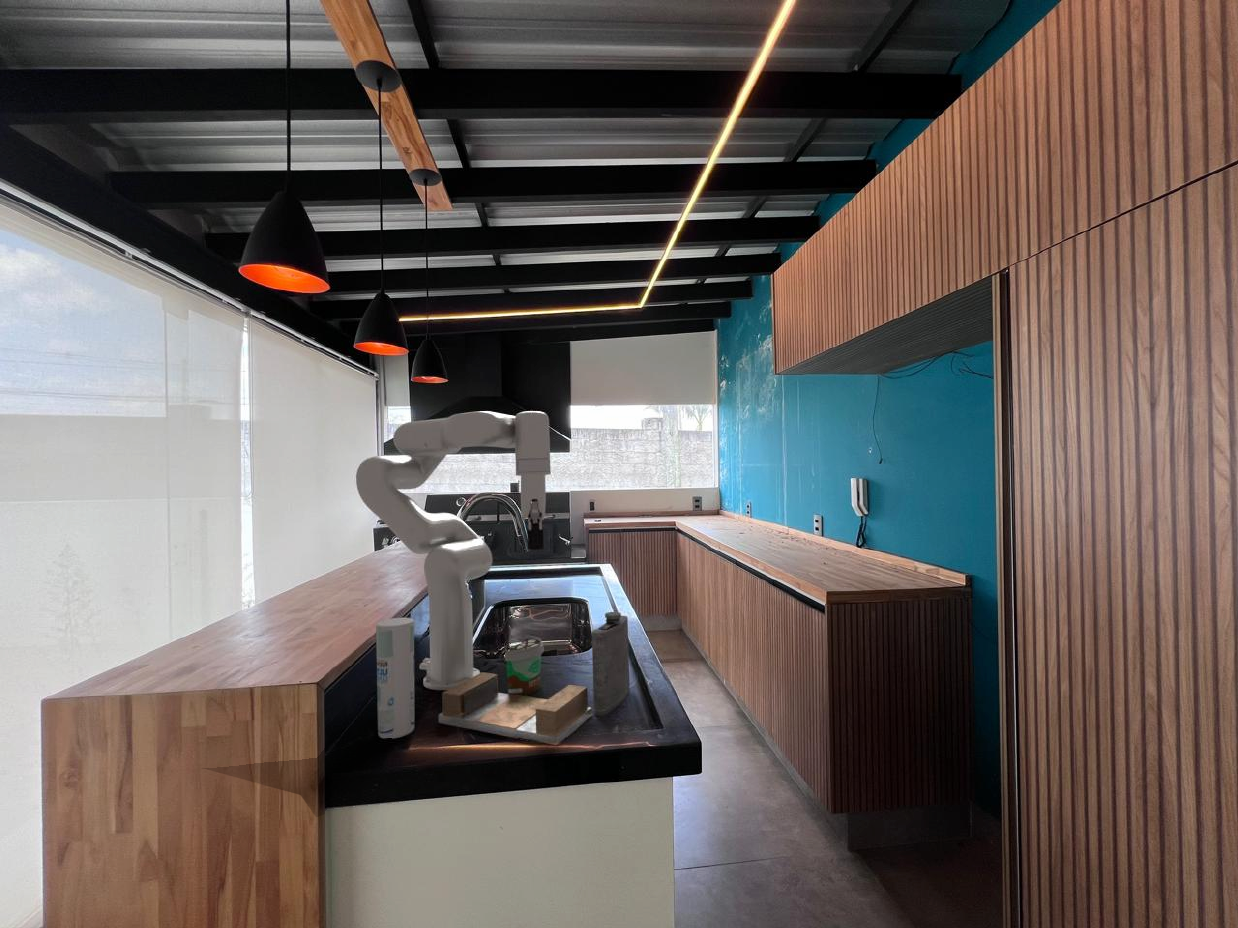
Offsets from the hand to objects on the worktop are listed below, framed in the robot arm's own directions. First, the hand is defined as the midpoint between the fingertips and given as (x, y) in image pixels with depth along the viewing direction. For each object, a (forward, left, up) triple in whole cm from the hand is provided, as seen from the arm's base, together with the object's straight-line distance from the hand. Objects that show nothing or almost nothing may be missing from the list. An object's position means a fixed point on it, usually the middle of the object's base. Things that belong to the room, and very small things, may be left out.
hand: (535, 546), depth 117 cm
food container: (-3, +1, -32) cm, 32 cm away
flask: (+17, +2, -32) cm, 36 cm away
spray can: (-15, -25, -32) cm, 43 cm away
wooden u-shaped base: (+3, -13, -31) cm, 34 cm away
